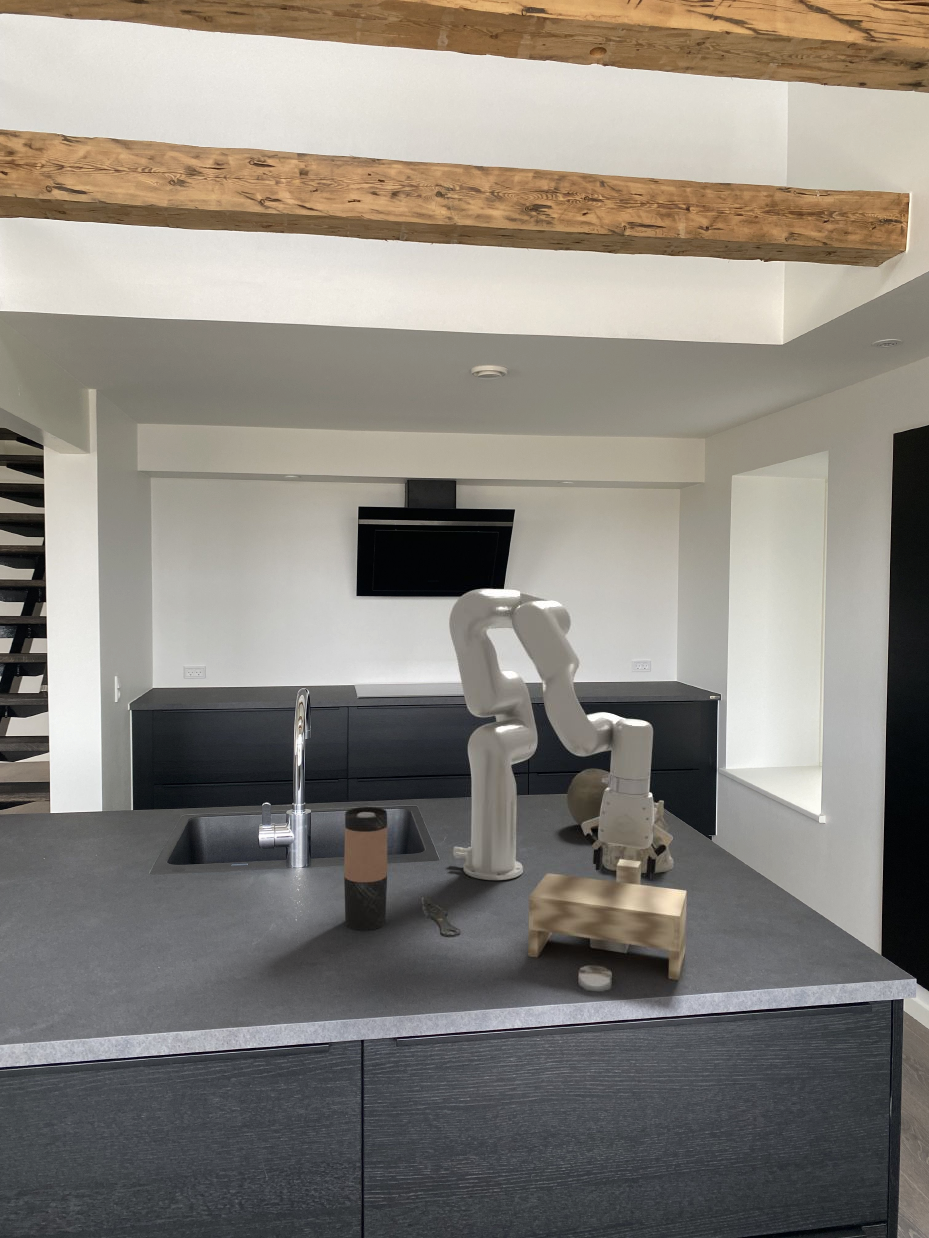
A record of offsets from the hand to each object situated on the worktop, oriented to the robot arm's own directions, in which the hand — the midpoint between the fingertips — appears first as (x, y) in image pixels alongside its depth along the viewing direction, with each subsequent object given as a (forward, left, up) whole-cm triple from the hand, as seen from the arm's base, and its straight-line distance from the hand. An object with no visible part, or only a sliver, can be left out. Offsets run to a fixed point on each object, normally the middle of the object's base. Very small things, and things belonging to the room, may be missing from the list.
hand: (623, 872), depth 164 cm
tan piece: (+1, -10, -6) cm, 12 cm away
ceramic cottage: (-1, +27, -6) cm, 28 cm away
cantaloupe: (-15, +49, -6) cm, 51 cm away
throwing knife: (-31, -18, -7) cm, 37 cm away
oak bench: (+1, -23, -6) cm, 24 cm away
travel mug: (-42, -26, -6) cm, 50 cm away
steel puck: (+1, -35, -6) cm, 36 cm away
